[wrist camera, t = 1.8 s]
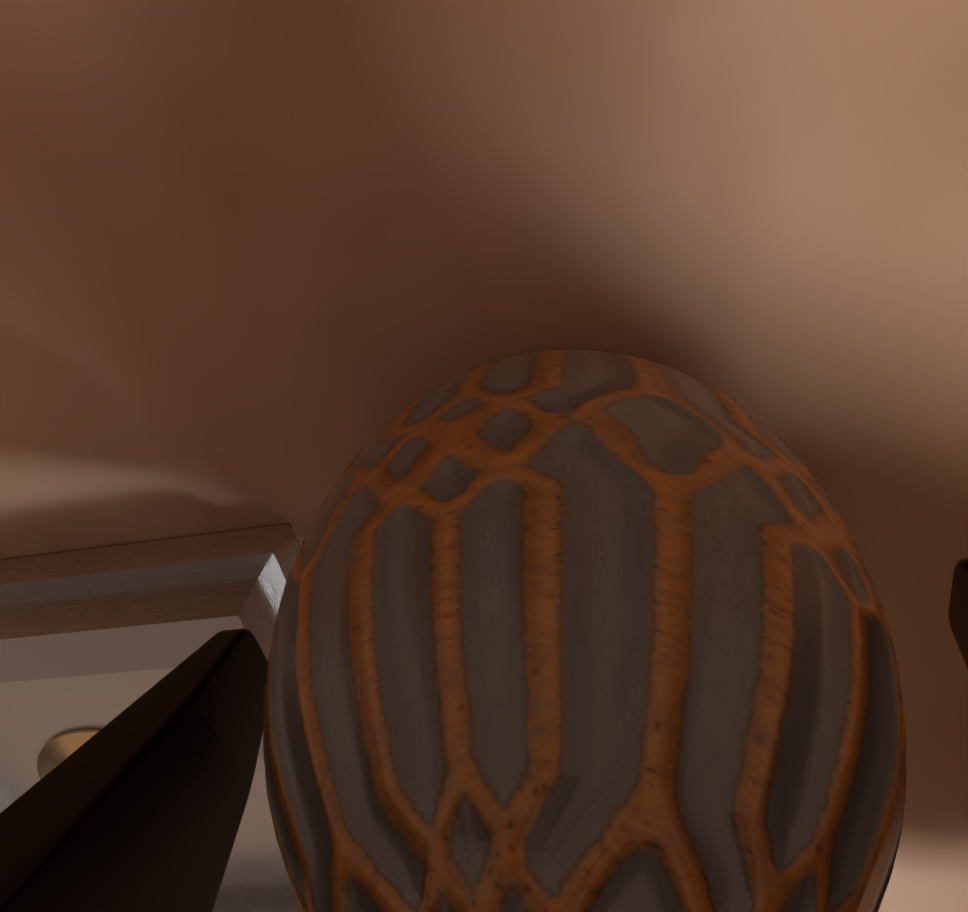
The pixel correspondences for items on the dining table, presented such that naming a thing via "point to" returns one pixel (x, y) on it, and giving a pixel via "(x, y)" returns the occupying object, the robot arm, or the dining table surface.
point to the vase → (582, 662)
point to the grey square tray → (136, 660)
